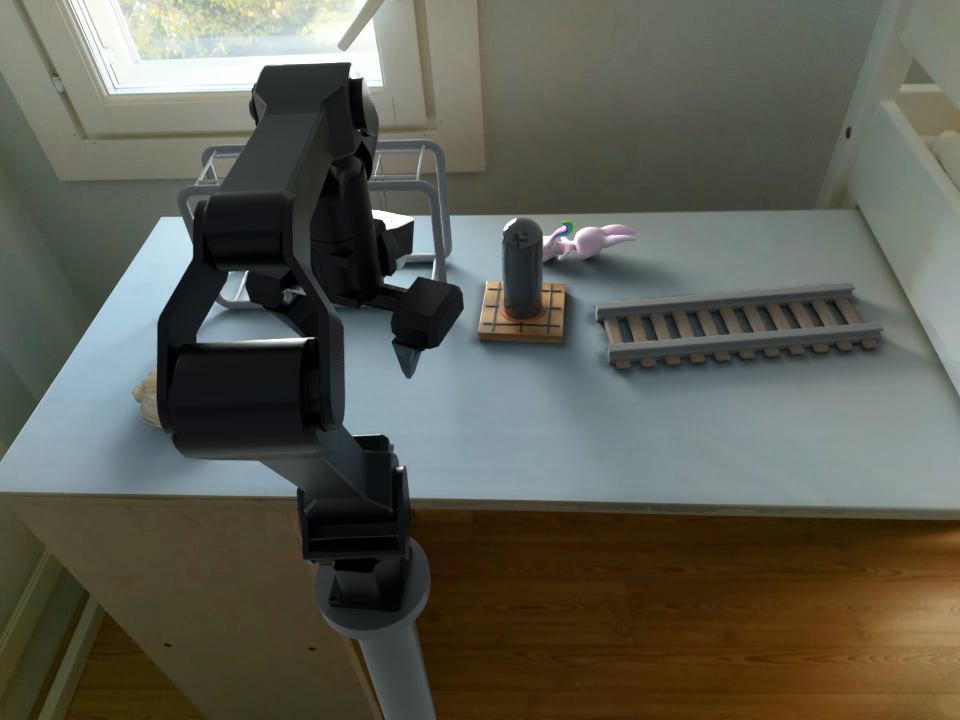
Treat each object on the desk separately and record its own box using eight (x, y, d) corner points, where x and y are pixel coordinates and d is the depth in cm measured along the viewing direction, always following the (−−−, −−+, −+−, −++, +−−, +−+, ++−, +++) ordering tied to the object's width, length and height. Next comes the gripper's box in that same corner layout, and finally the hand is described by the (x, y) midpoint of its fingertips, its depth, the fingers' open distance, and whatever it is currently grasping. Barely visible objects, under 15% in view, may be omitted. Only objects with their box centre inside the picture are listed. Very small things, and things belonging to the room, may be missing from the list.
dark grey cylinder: (550, 307, 92) (552, 221, 83) (521, 324, 89) (520, 238, 81) (524, 289, 94) (523, 204, 86) (495, 305, 92) (491, 220, 84)
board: (562, 343, 89) (562, 335, 88) (478, 339, 90) (477, 331, 89) (564, 290, 96) (565, 282, 95) (487, 287, 97) (486, 279, 96)
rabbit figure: (527, 279, 100) (641, 260, 98) (519, 243, 96) (637, 222, 94) (525, 251, 105) (633, 232, 102) (517, 216, 100) (630, 195, 98)
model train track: (883, 349, 86) (889, 336, 84) (611, 372, 85) (612, 359, 83) (841, 288, 94) (846, 275, 92) (593, 308, 93) (594, 295, 92)
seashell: (259, 415, 83) (252, 397, 81) (150, 454, 79) (140, 436, 77) (235, 352, 90) (229, 334, 88) (135, 385, 87) (126, 367, 85)
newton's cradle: (215, 310, 96) (169, 189, 84) (237, 261, 104) (198, 143, 91) (448, 307, 94) (436, 182, 82) (453, 258, 102) (443, 137, 90)
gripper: (485, 191, 62) (491, 332, 73) (294, 156, 68) (327, 291, 79) (425, 268, 55) (443, 412, 65) (218, 221, 60) (265, 360, 71)
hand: (367, 363), depth 70 cm, fingers open, 9 cm apart
